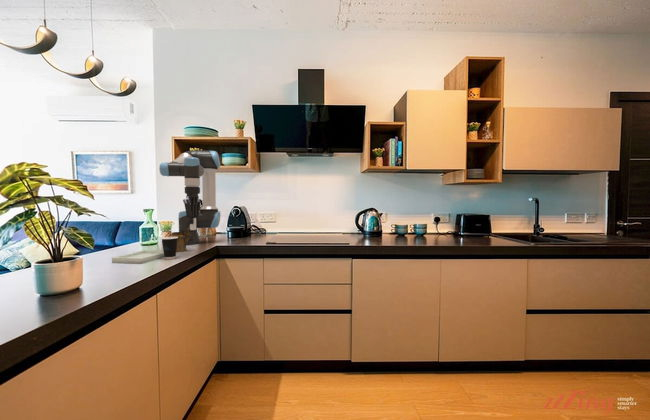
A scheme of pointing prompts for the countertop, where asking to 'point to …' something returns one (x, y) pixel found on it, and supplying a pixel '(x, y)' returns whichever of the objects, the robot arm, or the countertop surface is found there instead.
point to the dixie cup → (169, 247)
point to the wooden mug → (181, 239)
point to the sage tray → (139, 257)
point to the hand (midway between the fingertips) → (193, 229)
